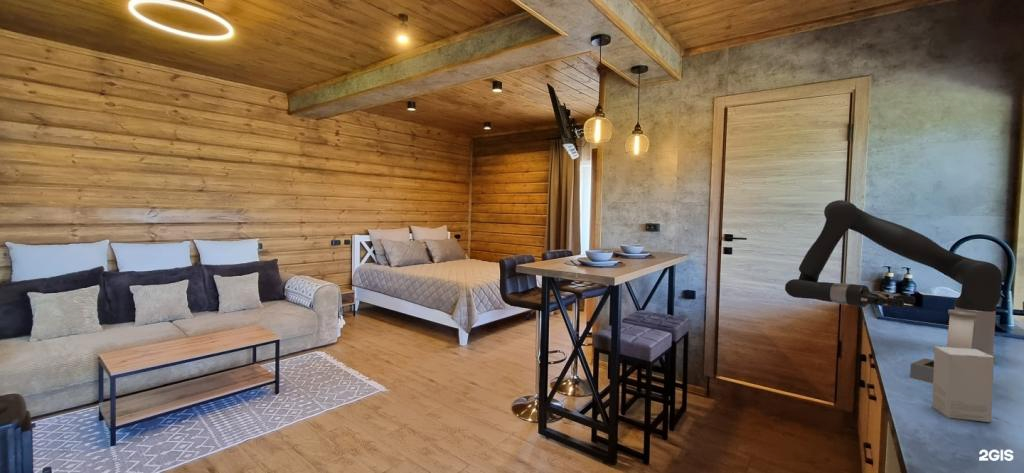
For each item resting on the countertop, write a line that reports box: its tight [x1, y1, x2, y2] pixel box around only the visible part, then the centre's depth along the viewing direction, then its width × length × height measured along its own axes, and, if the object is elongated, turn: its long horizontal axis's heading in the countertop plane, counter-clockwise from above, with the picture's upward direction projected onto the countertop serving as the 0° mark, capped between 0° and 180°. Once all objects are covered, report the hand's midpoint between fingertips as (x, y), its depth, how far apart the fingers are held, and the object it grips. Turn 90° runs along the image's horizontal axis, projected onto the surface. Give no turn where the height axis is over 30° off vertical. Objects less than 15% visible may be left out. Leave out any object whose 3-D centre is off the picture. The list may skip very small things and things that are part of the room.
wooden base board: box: [908, 357, 934, 385], centre depth 123 cm, size 23×11×5 cm, turn 119°
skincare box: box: [931, 345, 996, 423], centre depth 101 cm, size 8×7×16 cm
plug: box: [946, 308, 977, 349], centre depth 126 cm, size 6×6×18 cm
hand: (909, 301), depth 136 cm, fingers open, 8 cm apart
